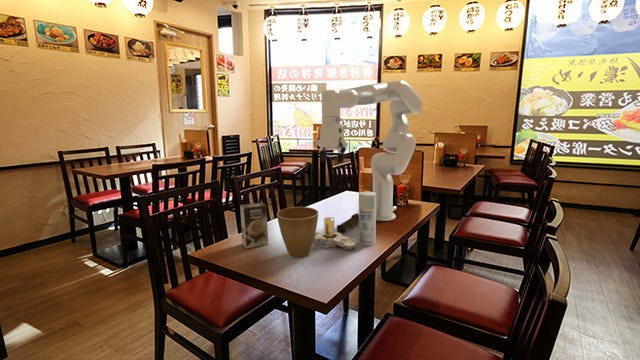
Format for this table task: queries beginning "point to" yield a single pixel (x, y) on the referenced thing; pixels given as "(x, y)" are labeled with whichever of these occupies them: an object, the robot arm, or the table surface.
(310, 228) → the plant pot
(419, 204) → the table surface
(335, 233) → the two-arm fidget spinner
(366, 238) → the spray can
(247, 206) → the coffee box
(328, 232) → the brass pin
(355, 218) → the brown wooden stick
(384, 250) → the table surface
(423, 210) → the table surface
